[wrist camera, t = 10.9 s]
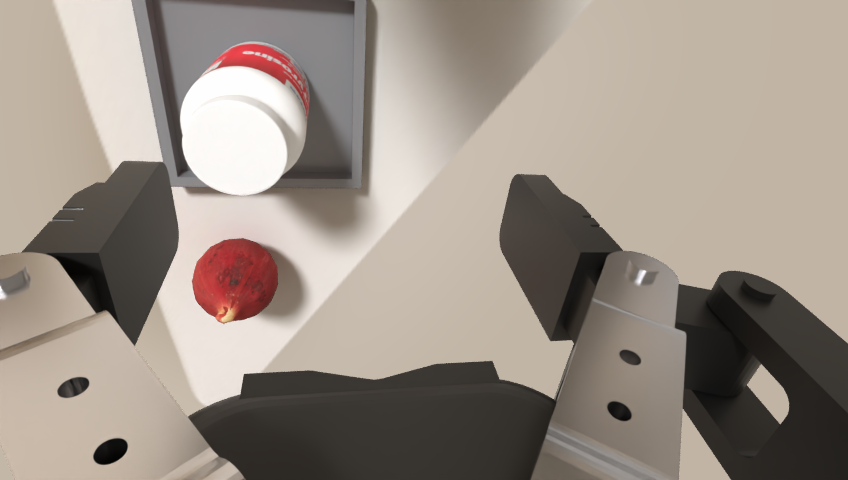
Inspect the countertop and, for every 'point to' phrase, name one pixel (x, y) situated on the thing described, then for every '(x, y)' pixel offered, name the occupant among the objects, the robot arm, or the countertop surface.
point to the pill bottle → (246, 119)
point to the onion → (235, 280)
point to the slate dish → (284, 28)
